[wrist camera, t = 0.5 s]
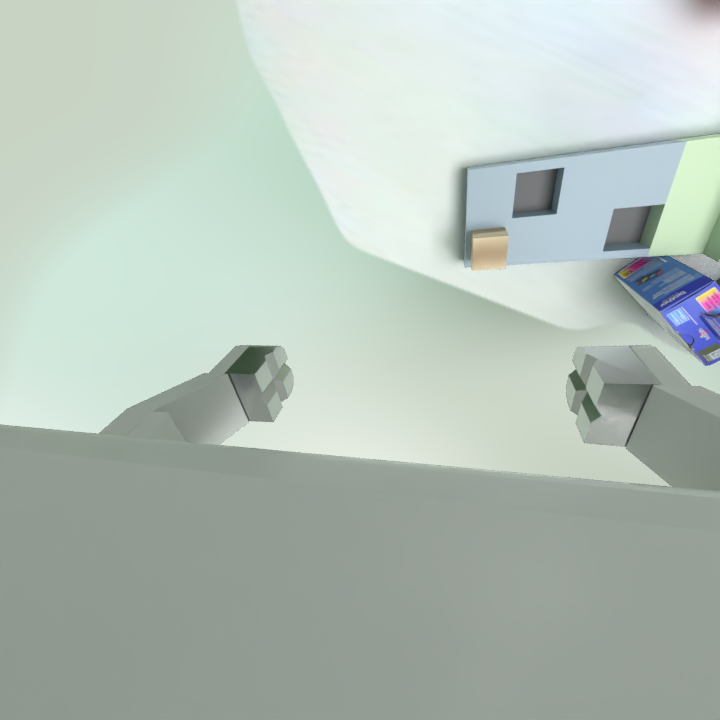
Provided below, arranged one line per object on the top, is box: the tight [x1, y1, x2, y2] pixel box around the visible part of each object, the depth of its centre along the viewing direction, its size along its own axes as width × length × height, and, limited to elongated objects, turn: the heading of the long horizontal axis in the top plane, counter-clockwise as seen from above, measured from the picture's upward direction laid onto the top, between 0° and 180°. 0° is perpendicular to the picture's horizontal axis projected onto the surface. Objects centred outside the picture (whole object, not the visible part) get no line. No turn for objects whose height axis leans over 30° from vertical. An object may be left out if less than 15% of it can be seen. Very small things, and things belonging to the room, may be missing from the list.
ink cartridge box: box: [615, 256, 720, 366], centre depth 39 cm, size 10×6×14 cm, turn 52°
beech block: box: [471, 227, 509, 270], centre depth 43 cm, size 4×4×4 cm
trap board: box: [464, 134, 720, 267], centre depth 39 cm, size 12×28×6 cm, turn 98°
